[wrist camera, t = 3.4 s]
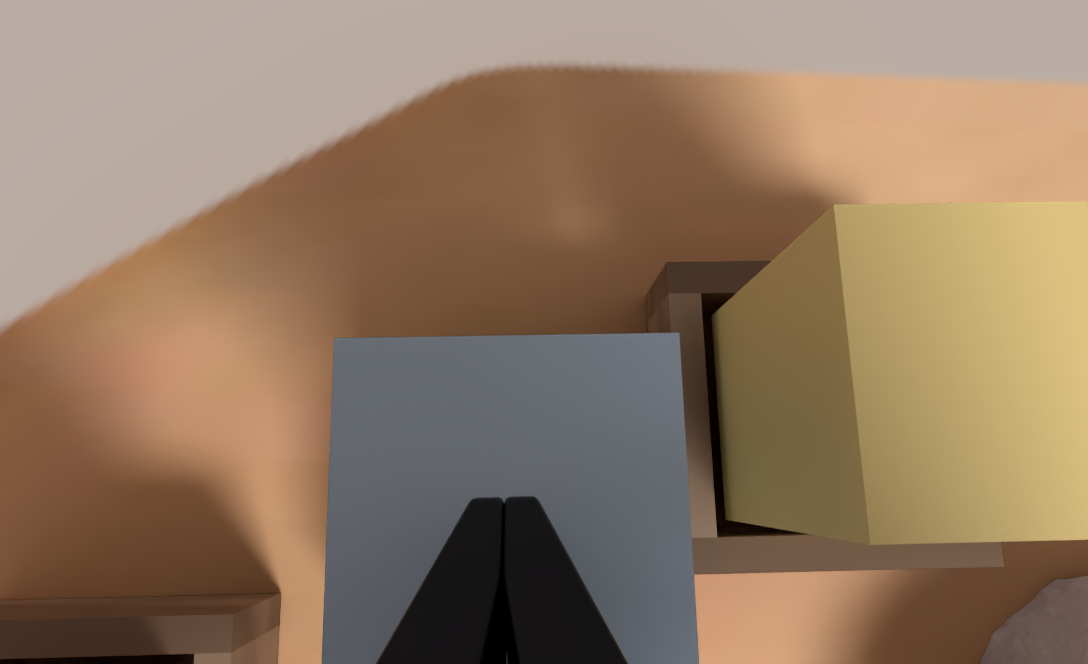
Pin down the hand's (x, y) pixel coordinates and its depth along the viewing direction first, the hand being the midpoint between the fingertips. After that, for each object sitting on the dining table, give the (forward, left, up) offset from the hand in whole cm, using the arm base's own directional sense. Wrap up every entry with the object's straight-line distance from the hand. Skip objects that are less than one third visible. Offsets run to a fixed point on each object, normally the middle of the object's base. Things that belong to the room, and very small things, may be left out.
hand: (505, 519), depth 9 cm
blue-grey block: (0, 0, -8) cm, 8 cm away
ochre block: (+5, -6, -8) cm, 11 cm away
